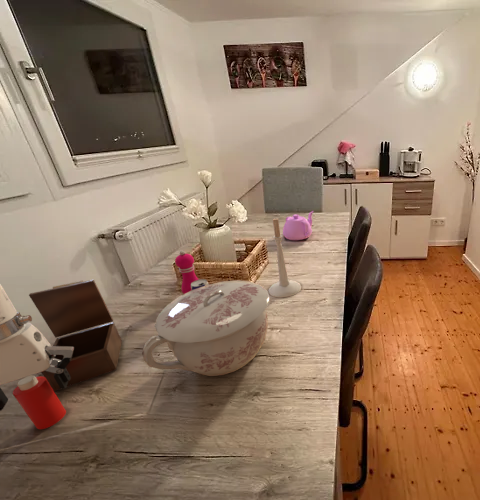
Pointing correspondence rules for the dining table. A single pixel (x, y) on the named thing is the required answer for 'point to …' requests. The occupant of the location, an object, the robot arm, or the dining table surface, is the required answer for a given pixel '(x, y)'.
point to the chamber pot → (212, 328)
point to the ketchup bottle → (39, 401)
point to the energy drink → (198, 284)
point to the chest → (89, 354)
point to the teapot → (298, 227)
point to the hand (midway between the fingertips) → (35, 394)
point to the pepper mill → (186, 270)
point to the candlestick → (282, 270)
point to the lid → (72, 307)
